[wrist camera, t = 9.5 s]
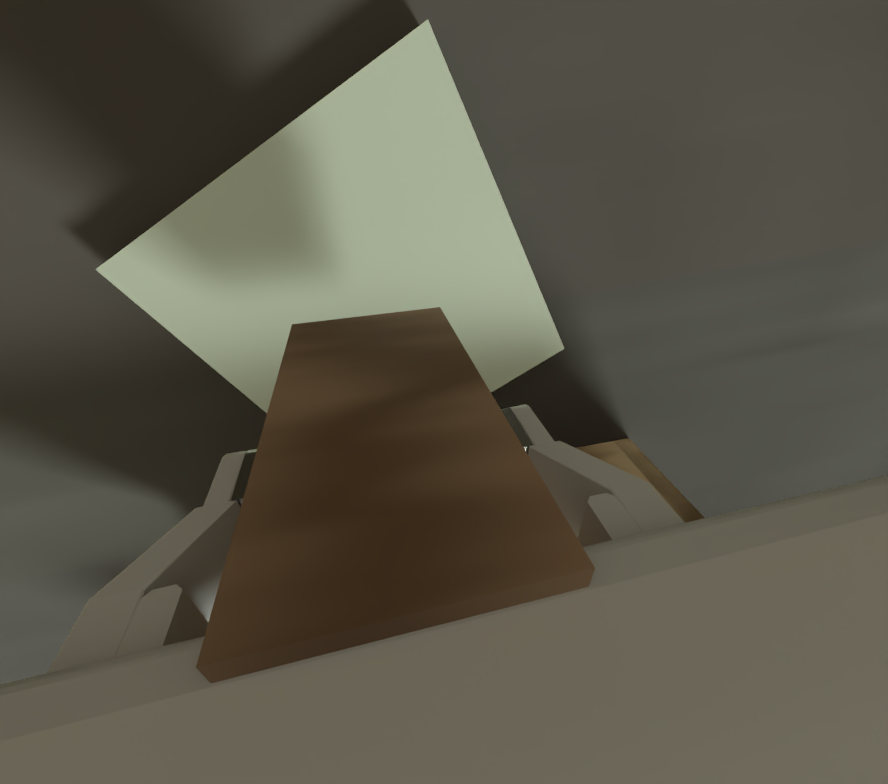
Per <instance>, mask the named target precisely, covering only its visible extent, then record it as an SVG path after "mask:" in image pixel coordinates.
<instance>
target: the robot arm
mask: <svg viewBox="0 0 888 784" xmlns="http://www.w3.org/2000/svg"><path fill="white" fill-rule="evenodd" d="M501 411H502V412H503V414H504V416H505V417H506V419H507V421H508V422H509V424H510V426H511V427H512V429H513V431H514V432H515V434H516V436H517V438H518V439H519V441H520V443H521V444H522V446H523V448H524V449H525V451H526V453H527V454H528V456H529V458H530V459H531V461H532V463H533V464H534V466H535V468H536V469H537V471H538V473H539V475H540V476H541V478H542V480H543V481H544V483H545V485H546V486H547V488H548V490H549V491H550V493H551V495H552V496H553V498H554V500H555V501H556V503H557V505H558V507H559V508H560V510H561V512H562V513H563V515H564V517H565V518H566V520H567V522H568V523H569V525H570V527H571V528H572V530H573V532H574V533H575V535H576V537H577V539H578V540H579V542H580V544H581V545H582V547H583V549H584V550H585V552H586V554H587V555H588V557H589V559H590V560H591V562H592V564H593V565H594V567H595V570H594V573H593V576H592V579H591V582H590V585H589V587H585V588H581V589H577V590H574V591H570V592H566V593H562V594H558V595H554V596H550V597H546V598H542V599H538V600H535V601H531V602H527V603H523V604H519V605H515V606H511V607H507V608H503V609H499V610H496V611H492V612H488V613H484V614H480V615H476V616H472V617H468V618H464V619H460V620H457V621H453V622H449V623H445V624H441V625H437V626H433V627H429V628H425V629H421V630H418V631H414V632H410V633H406V634H402V635H398V636H394V637H390V638H386V639H382V640H379V641H375V642H371V643H367V644H363V645H359V646H355V647H351V648H347V649H344V650H340V651H336V652H332V653H328V654H324V655H320V656H316V657H312V658H308V659H305V660H301V661H297V662H293V663H289V664H285V665H281V666H277V667H273V668H269V669H266V670H262V671H258V672H254V673H250V674H246V675H242V676H238V677H234V678H230V679H227V680H223V681H219V682H215V683H210V682H209V681H208V680H207V679H206V678H205V677H204V676H203V675H202V674H201V672H200V671H199V670H198V669H197V668H196V665H197V661H198V658H199V654H200V651H201V647H202V644H203V640H204V636H205V633H206V629H207V626H208V622H209V619H210V615H211V611H212V608H213V604H214V601H215V597H216V594H217V590H218V587H219V583H220V579H221V576H222V572H223V569H224V565H225V562H226V558H227V554H228V551H229V547H230V544H231V540H232V537H233V533H234V529H235V526H236V522H237V519H238V515H239V512H240V508H241V504H242V501H243V497H244V494H245V490H246V487H247V483H248V480H249V476H250V472H251V469H252V465H253V462H254V458H255V455H256V451H257V449H253V450H248V451H241V452H234V453H228V454H226V455H224V456H223V457H222V459H221V461H220V464H219V466H218V469H217V471H216V474H215V476H214V479H213V482H212V484H211V487H210V489H209V492H208V494H207V497H206V500H205V502H204V505H203V506H202V507H197V508H195V509H194V510H193V511H191V512H190V513H189V514H188V515H187V516H186V517H184V518H183V519H182V520H181V521H180V522H179V523H178V524H176V525H175V526H174V527H173V528H172V529H171V530H169V531H168V532H167V533H166V534H165V535H164V536H162V537H161V538H160V539H159V540H158V541H157V542H155V543H154V544H153V545H152V546H151V547H150V548H149V549H147V550H146V551H145V552H144V553H143V554H142V555H140V556H139V557H138V558H137V559H136V560H135V561H133V562H132V563H131V564H130V565H129V566H128V567H126V568H125V569H124V570H123V571H122V572H121V573H120V574H118V575H117V576H116V577H115V578H114V579H113V580H111V581H110V582H109V583H108V584H107V585H106V586H104V587H103V588H102V589H101V590H100V591H99V592H97V593H96V594H95V595H94V596H93V597H92V598H91V599H89V600H88V601H87V603H86V605H85V606H84V608H83V610H82V612H81V613H80V615H79V617H78V619H77V621H76V622H75V624H74V626H73V628H72V629H71V631H70V633H69V635H68V637H67V638H66V640H65V642H64V644H63V645H62V647H61V649H60V651H59V653H58V654H57V656H56V658H55V660H54V661H53V663H52V665H51V667H50V669H49V670H48V672H47V674H42V675H38V676H34V677H30V678H26V679H21V680H17V681H13V682H9V683H4V684H0V784H888V475H885V476H881V477H876V478H872V479H868V480H864V481H860V482H855V483H851V484H847V485H843V486H839V487H834V488H830V489H826V490H822V491H818V492H813V493H809V494H805V495H801V496H797V497H792V498H788V499H784V500H780V501H775V502H771V503H767V504H763V505H758V506H754V507H750V508H746V509H741V510H737V511H733V512H729V513H724V514H720V515H716V516H712V517H707V518H703V519H699V520H695V521H691V522H686V523H685V522H684V521H683V520H682V519H681V518H680V517H679V516H678V514H677V513H676V512H675V511H674V510H673V509H672V508H671V507H670V506H669V504H668V503H667V502H666V501H665V500H664V499H663V498H662V497H661V496H660V494H659V493H658V492H657V491H656V490H655V489H654V488H653V487H652V486H651V484H650V483H649V482H646V481H644V480H642V479H640V478H638V477H636V476H634V475H632V474H629V473H627V472H625V471H623V470H621V469H619V468H617V467H615V466H613V465H610V464H608V463H606V462H604V461H602V460H600V459H598V458H596V457H593V456H591V455H589V454H587V453H585V452H583V451H581V450H579V449H576V448H574V447H572V446H570V445H568V444H566V443H564V442H562V441H554V440H553V439H552V437H551V436H550V434H549V433H548V432H547V430H546V429H545V427H544V426H543V425H542V423H541V422H540V421H539V419H538V418H537V416H536V415H535V414H534V412H533V411H532V409H531V408H530V407H529V406H528V405H526V404H524V405H519V406H514V407H509V408H506V409H501Z"/></svg>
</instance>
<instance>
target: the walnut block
mask: <svg viewBox="0 0 888 784" xmlns="http://www.w3.org/2000/svg"><path fill="white" fill-rule="evenodd" d="M594 570H595V567H594V565H593V564H592V562H591V560H590V559H589V557H588V555H587V554H586V552H585V550H584V549H583V547H582V545H581V544H580V542H579V540H578V539H577V537H576V535H575V533H574V532H573V530H572V528H571V527H570V525H569V523H568V522H567V520H566V518H565V517H564V515H563V513H562V512H561V510H560V508H559V507H558V505H557V503H556V501H555V500H554V498H553V496H552V495H551V493H550V491H549V490H548V488H547V486H546V485H545V483H544V481H543V480H542V478H541V476H540V475H539V473H538V471H537V469H536V468H535V466H534V464H533V463H532V461H531V459H530V458H529V456H528V454H527V453H526V451H525V449H524V448H523V446H522V444H521V443H520V441H519V439H518V438H517V436H516V434H515V432H514V431H513V429H512V427H511V426H510V424H509V422H508V421H507V419H506V417H505V416H504V414H503V412H502V411H501V409H500V407H499V406H498V404H497V402H496V400H495V399H494V397H493V395H492V394H491V392H490V390H489V389H488V387H487V385H486V384H485V382H484V380H483V379H482V377H481V375H480V374H479V372H478V370H477V368H476V367H475V365H474V363H473V362H472V360H471V358H470V357H469V355H468V353H467V352H466V350H465V348H464V347H463V345H462V343H461V342H460V340H459V338H458V336H457V335H456V333H455V331H454V330H453V328H452V326H451V325H450V323H449V321H448V320H447V318H446V316H445V315H444V313H443V311H442V310H441V308H440V307H436V308H428V309H419V310H410V311H402V312H393V313H385V314H376V315H368V316H359V317H350V318H342V319H333V320H325V321H316V322H307V323H299V324H292V326H291V330H290V333H289V337H288V340H287V344H286V348H285V351H284V355H283V358H282V362H281V365H280V369H279V373H278V376H277V380H276V383H275V387H274V390H273V394H272V398H271V401H270V405H269V408H268V412H267V415H266V419H265V422H264V426H263V430H262V433H261V437H260V440H259V444H258V447H257V451H256V455H255V458H254V462H253V465H252V469H251V472H250V476H249V480H248V483H247V487H246V490H245V494H244V497H243V501H242V504H241V508H240V512H239V515H238V519H237V522H236V526H235V529H234V533H233V537H232V540H231V544H230V547H229V551H228V554H227V558H226V562H225V565H224V569H223V572H222V576H221V579H220V583H219V587H218V590H217V594H216V597H215V601H214V604H213V608H212V611H211V615H210V619H209V622H208V626H207V629H206V633H205V636H204V640H203V644H202V647H201V651H200V654H199V658H198V661H197V665H196V668H197V669H198V670H199V671H200V672H201V674H202V675H203V676H204V677H205V678H206V679H207V680H208V681H209V682H210V683H215V682H219V681H223V680H227V679H230V678H234V677H238V676H242V675H246V674H250V673H254V672H258V671H262V670H266V669H269V668H273V667H277V666H281V665H285V664H289V663H293V662H297V661H301V660H305V659H308V658H312V657H316V656H320V655H324V654H328V653H332V652H336V651H340V650H344V649H347V648H351V647H355V646H359V645H363V644H367V643H371V642H375V641H379V640H382V639H386V638H390V637H394V636H398V635H402V634H406V633H410V632H414V631H418V630H421V629H425V628H429V627H433V626H437V625H441V624H445V623H449V622H453V621H457V620H460V619H464V618H468V617H472V616H476V615H480V614H484V613H488V612H492V611H496V610H499V609H503V608H507V607H511V606H515V605H519V604H523V603H527V602H531V601H535V600H538V599H542V598H546V597H550V596H554V595H558V594H562V593H566V592H570V591H574V590H577V589H581V588H585V587H589V585H590V582H591V579H592V576H593V573H594Z"/></svg>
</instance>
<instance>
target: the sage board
mask: <svg viewBox="0 0 888 784" xmlns="http://www.w3.org/2000/svg"><path fill="white" fill-rule="evenodd" d="M96 270H97V271H98V272H99V273H100V274H102V275H103V276H104V277H105V278H106V279H108V280H109V281H110V282H111V283H112V284H113V285H115V286H116V287H117V288H118V289H119V290H121V291H122V292H123V293H124V294H125V295H127V296H128V297H129V298H130V299H131V300H132V301H134V302H135V303H136V304H137V305H138V306H140V307H141V308H142V309H143V310H144V311H146V312H147V313H148V314H149V315H150V316H151V317H153V318H154V319H155V320H156V321H157V322H159V323H160V324H161V325H162V326H163V327H165V328H166V329H167V330H168V331H169V332H171V333H172V334H173V335H174V336H175V337H176V338H178V339H179V340H180V341H181V342H182V343H184V344H185V345H186V346H187V347H188V348H190V349H191V350H192V351H193V352H194V353H195V354H197V355H198V356H199V357H200V358H201V359H203V360H204V361H205V362H206V363H207V364H209V365H210V366H211V367H212V368H213V369H214V370H216V371H217V372H218V373H219V374H220V375H222V376H223V377H224V378H225V379H226V380H228V381H229V382H230V383H231V384H232V385H234V386H235V387H236V388H237V389H238V390H239V391H241V392H242V393H243V394H244V395H245V396H247V397H248V398H249V399H250V400H251V401H253V402H254V403H255V404H256V405H257V406H258V407H260V408H261V409H262V410H263V411H264V412H266V413H267V412H268V408H269V405H270V401H271V398H272V394H273V390H274V387H275V383H276V380H277V376H278V373H279V369H280V365H281V362H282V358H283V355H284V351H285V348H286V344H287V340H288V337H289V333H290V330H291V326H292V324H299V323H307V322H316V321H325V320H333V319H342V318H350V317H359V316H368V315H376V314H385V313H393V312H402V311H410V310H419V309H428V308H436V307H440V308H441V310H442V311H443V313H444V315H445V316H446V318H447V320H448V321H449V323H450V325H451V326H452V328H453V330H454V331H455V333H456V335H457V336H458V338H459V340H460V342H461V343H462V345H463V347H464V348H465V350H466V352H467V353H468V355H469V357H470V358H471V360H472V362H473V363H474V365H475V367H476V368H477V370H478V372H479V374H480V375H481V377H482V379H483V380H484V382H485V384H486V385H487V387H488V389H489V390H490V392H493V391H494V390H496V389H498V388H499V387H501V386H503V385H504V384H506V383H508V382H509V381H511V380H513V379H515V378H516V377H518V376H520V375H521V374H523V373H525V372H526V371H528V370H530V369H531V368H533V367H535V366H536V365H538V364H540V363H541V362H543V361H545V360H546V359H548V358H550V357H551V356H553V355H555V354H556V353H558V352H560V351H561V350H563V349H564V346H563V344H562V342H561V339H560V337H559V334H558V332H557V330H556V327H555V325H554V322H553V320H552V318H551V315H550V313H549V310H548V308H547V305H546V303H545V301H544V298H543V296H542V293H541V291H540V289H539V286H538V284H537V281H536V279H535V277H534V274H533V272H532V269H531V267H530V265H529V262H528V260H527V257H526V255H525V252H524V250H523V248H522V245H521V243H520V240H519V238H518V236H517V233H516V231H515V228H514V226H513V224H512V221H511V219H510V216H509V214H508V211H507V209H506V207H505V204H504V202H503V199H502V197H501V195H500V192H499V190H498V187H497V185H496V183H495V180H494V178H493V175H492V173H491V170H490V168H489V166H488V163H487V161H486V158H485V156H484V154H483V151H482V149H481V146H480V144H479V142H478V139H477V137H476V134H475V132H474V129H473V127H472V125H471V122H470V120H469V117H468V115H467V113H466V110H465V108H464V105H463V103H462V101H461V98H460V96H459V93H458V91H457V89H456V86H455V84H454V81H453V79H452V76H451V74H450V72H449V69H448V67H447V64H446V62H445V60H444V57H443V55H442V52H441V50H440V48H439V45H438V43H437V40H436V38H435V35H434V33H433V31H432V28H431V26H430V23H429V21H428V20H426V21H425V22H424V23H422V24H421V25H420V26H418V27H417V28H416V29H414V30H413V31H412V32H410V33H409V34H408V35H406V36H405V37H404V38H402V39H401V40H400V41H398V42H397V43H396V44H394V45H393V46H392V47H391V48H389V49H388V50H387V51H385V52H384V53H383V54H381V55H380V56H379V57H377V58H376V59H375V60H373V61H372V62H371V63H369V64H368V65H367V66H365V67H364V68H363V69H361V70H360V71H359V72H357V73H356V74H355V75H353V76H352V77H351V78H349V79H348V80H347V81H345V82H344V83H343V84H341V85H340V86H339V87H337V88H336V89H335V90H333V91H332V92H331V93H329V94H328V95H327V96H325V97H324V98H323V99H321V100H320V101H319V102H317V103H316V104H315V105H313V106H312V107H311V108H309V109H308V110H307V111H305V112H304V113H303V114H301V115H300V116H299V117H297V118H296V119H295V120H293V121H292V122H291V123H290V124H288V125H287V126H286V127H284V128H283V129H282V130H280V131H279V132H278V133H276V134H275V135H274V136H272V137H271V138H270V139H268V140H267V141H266V142H264V143H263V144H262V145H260V146H259V147H258V148H256V149H255V150H254V151H252V152H251V153H250V154H248V155H247V156H246V157H244V158H243V159H242V160H240V161H239V162H238V163H236V164H235V165H234V166H232V167H231V168H230V169H228V170H227V171H226V172H224V173H223V174H222V175H220V176H219V177H218V178H216V179H215V180H214V181H212V182H211V183H210V184H208V185H207V186H206V187H204V188H203V189H202V190H200V191H199V192H198V193H196V194H195V195H194V196H192V197H191V198H190V199H188V200H187V201H186V202H185V203H183V204H182V205H181V206H179V207H178V208H177V209H175V210H174V211H173V212H171V213H170V214H169V215H167V216H166V217H165V218H163V219H162V220H161V221H159V222H158V223H157V224H155V225H154V226H153V227H151V228H150V229H149V230H147V231H146V232H145V233H143V234H142V235H141V236H139V237H138V238H137V239H135V240H134V241H133V242H131V243H130V244H129V245H127V246H126V247H125V248H123V249H122V250H121V251H119V252H118V253H117V254H115V255H114V256H113V257H111V258H110V259H109V260H107V261H106V262H105V263H103V264H102V265H101V266H99V267H98V268H97V269H96Z"/></svg>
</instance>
